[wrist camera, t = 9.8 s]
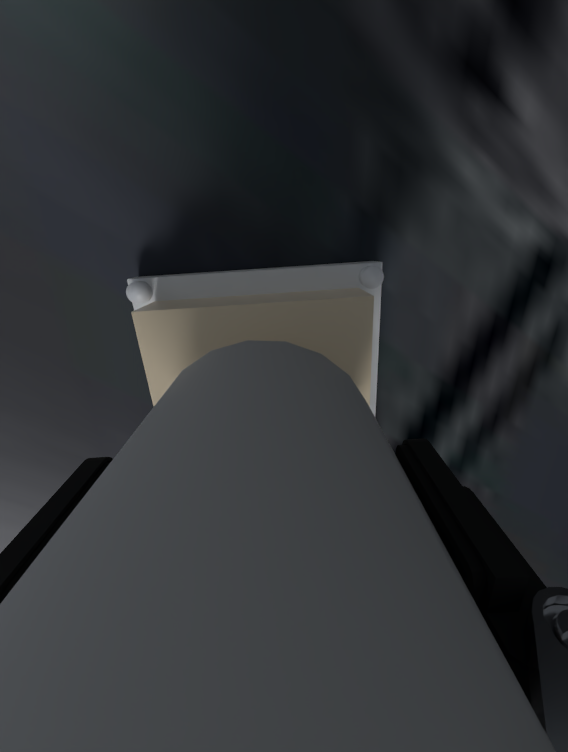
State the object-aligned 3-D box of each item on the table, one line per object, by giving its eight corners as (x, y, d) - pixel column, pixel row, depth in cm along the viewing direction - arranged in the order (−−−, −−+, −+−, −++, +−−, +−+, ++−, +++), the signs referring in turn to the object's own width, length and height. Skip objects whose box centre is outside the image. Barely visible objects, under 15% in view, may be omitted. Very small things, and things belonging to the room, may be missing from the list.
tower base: (374, 261, 15) (403, 265, 12) (367, 459, 19) (386, 505, 16) (138, 276, 15) (97, 285, 12) (180, 470, 19) (159, 519, 16)
